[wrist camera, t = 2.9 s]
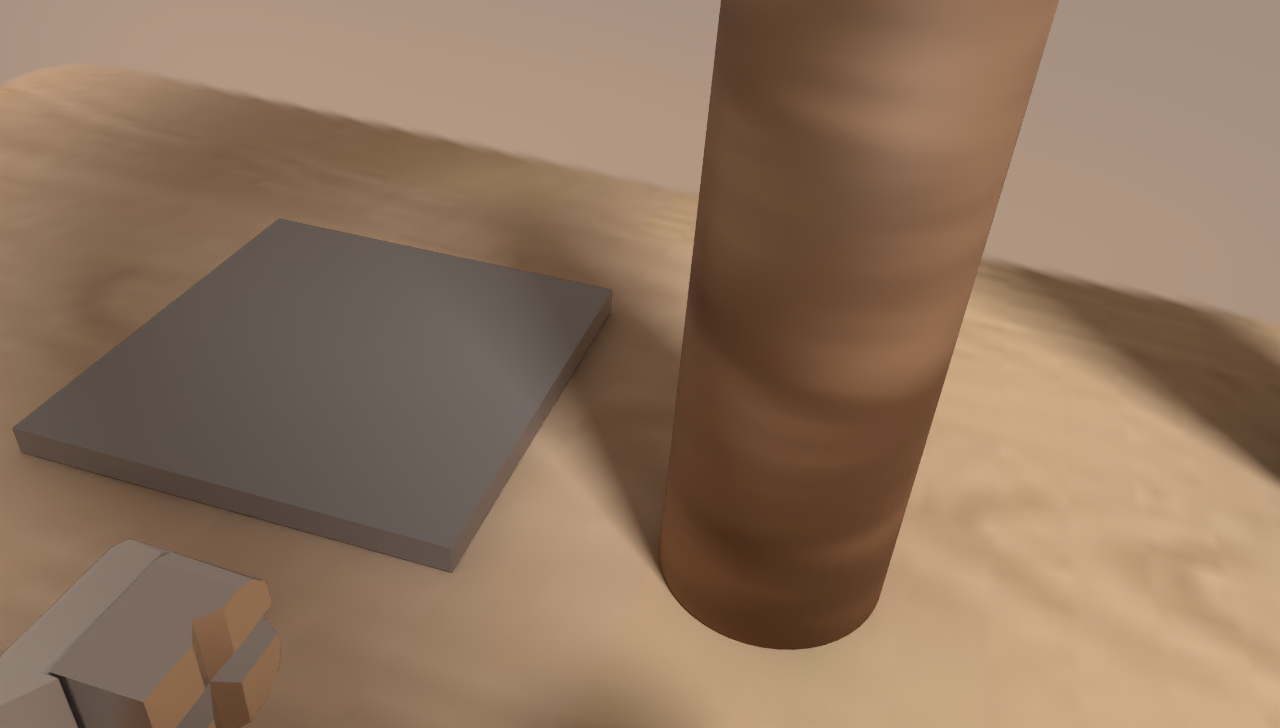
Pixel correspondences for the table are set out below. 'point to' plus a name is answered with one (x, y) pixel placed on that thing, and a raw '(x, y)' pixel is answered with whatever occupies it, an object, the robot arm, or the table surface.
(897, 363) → the pepper mill
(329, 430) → the trivet
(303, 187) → the table surface
